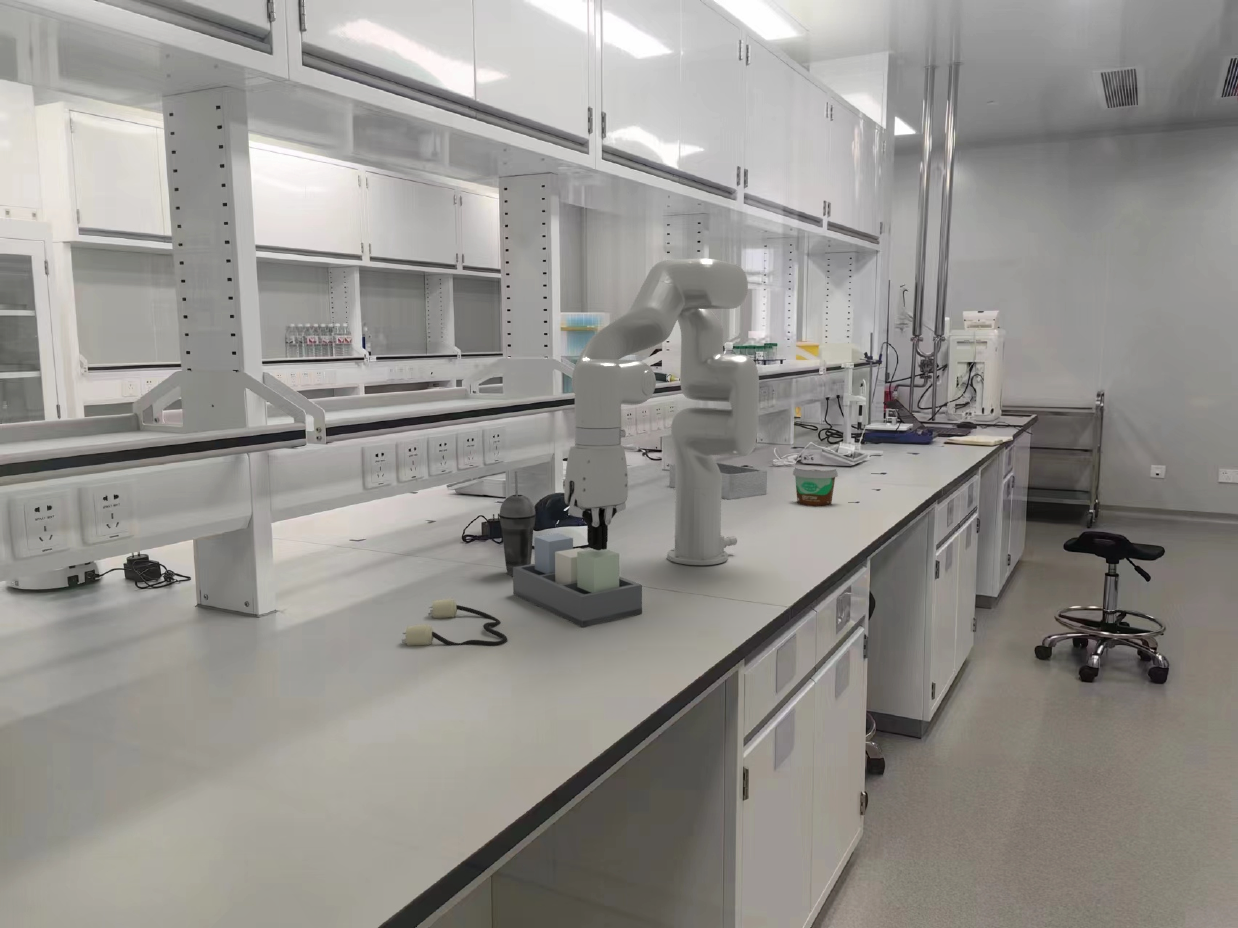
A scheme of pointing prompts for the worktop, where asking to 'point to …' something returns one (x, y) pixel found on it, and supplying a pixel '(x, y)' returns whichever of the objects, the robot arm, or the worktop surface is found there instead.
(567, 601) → the box
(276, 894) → the worktop surface
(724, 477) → the grey storage bin
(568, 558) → the key ivory
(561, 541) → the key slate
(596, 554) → the key sage
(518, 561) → the beverage cup
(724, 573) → the worktop surface
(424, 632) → the cable
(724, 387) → the robot arm
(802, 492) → the food container
